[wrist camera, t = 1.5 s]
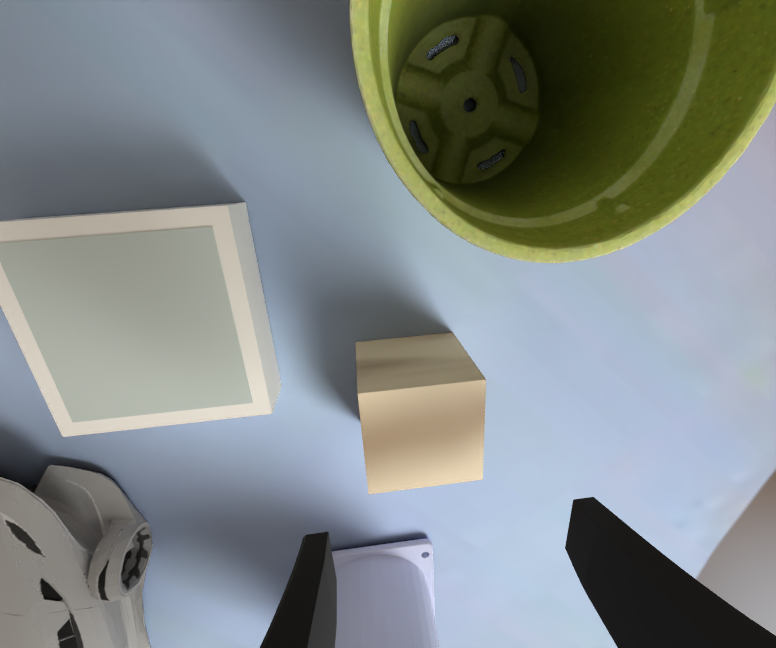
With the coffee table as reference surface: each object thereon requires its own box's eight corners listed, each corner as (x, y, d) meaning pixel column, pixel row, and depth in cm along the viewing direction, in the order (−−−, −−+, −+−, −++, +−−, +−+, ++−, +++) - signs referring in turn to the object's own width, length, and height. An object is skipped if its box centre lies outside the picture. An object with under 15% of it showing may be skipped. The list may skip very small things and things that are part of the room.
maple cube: (452, 413, 21) (482, 479, 16) (364, 423, 20) (368, 494, 16) (452, 331, 19) (485, 379, 14) (355, 341, 19) (357, 393, 14)
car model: (22, 709, 27) (-48, 821, 22) (-104, 428, 18) (-261, 512, 14) (184, 698, 28) (150, 801, 23) (136, 431, 20) (69, 509, 15)
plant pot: (424, 264, 17) (488, 334, 9) (302, 61, 14) (240, -102, 6) (603, 150, 16) (849, 117, 8) (517, -99, 13) (788, -554, 5)
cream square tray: (281, 385, 19) (272, 414, 17) (98, 404, 18) (61, 437, 16) (245, 201, 16) (227, 205, 13) (22, 218, 15) (-40, 224, 13)
